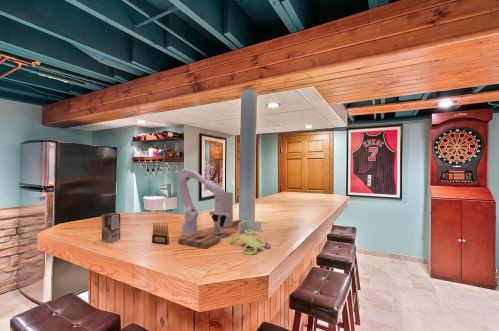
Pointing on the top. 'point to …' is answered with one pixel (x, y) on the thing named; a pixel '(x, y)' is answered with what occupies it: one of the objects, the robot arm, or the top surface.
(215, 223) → the steel peg
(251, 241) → the figurine
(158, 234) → the ammunition clip
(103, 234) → the coffee box
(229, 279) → the top surface
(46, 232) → the top surface
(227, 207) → the cylinder vase
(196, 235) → the walnut board
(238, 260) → the top surface
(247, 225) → the l-shaped corner panel
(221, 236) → the rubber mat
